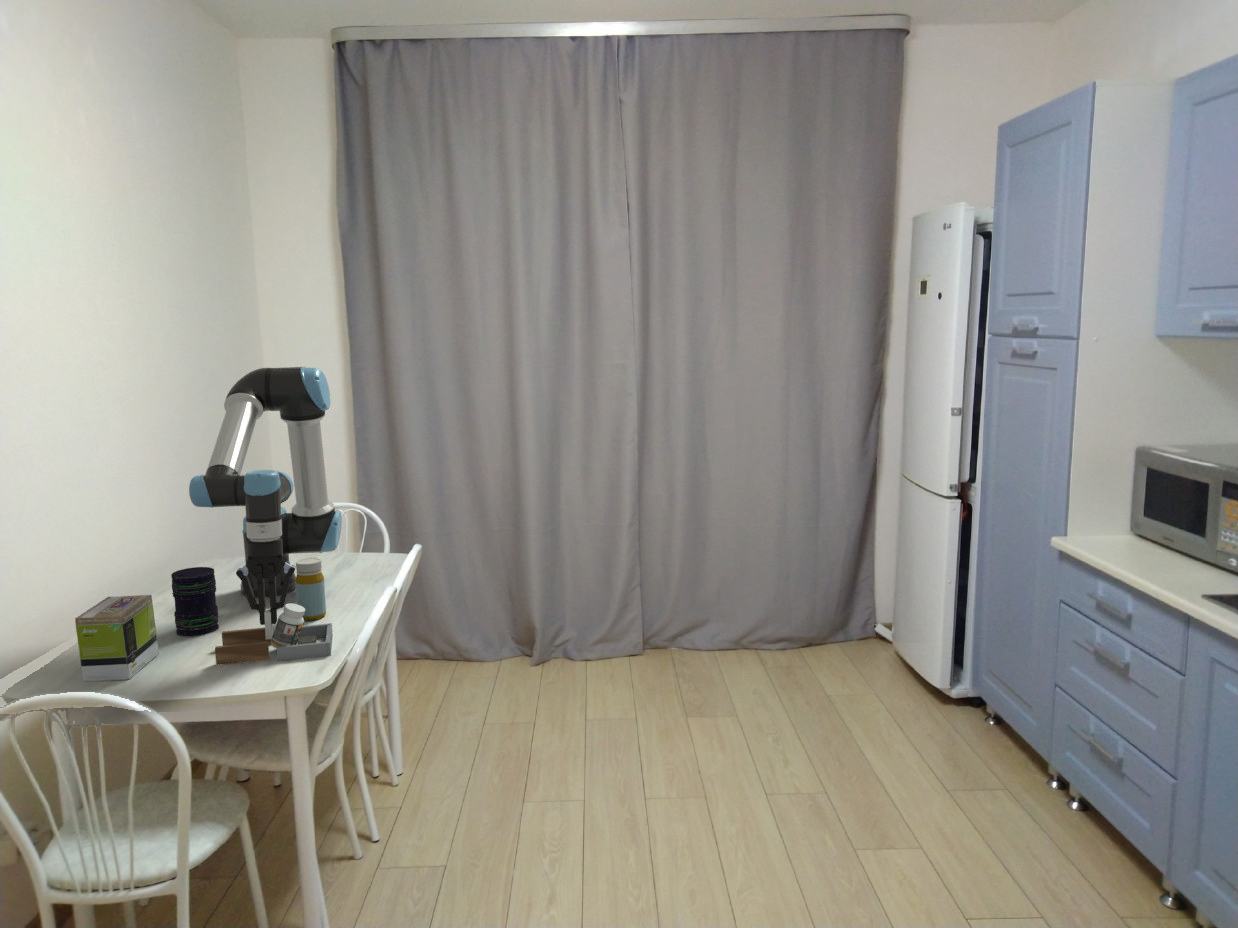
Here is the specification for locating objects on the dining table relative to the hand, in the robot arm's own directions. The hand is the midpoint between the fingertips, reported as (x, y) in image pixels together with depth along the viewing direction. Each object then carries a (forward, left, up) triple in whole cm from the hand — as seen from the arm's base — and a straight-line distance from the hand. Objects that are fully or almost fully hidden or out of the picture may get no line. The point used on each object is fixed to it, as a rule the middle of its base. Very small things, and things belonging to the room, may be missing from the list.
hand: (269, 637), depth 203 cm
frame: (-1, +8, -4) cm, 8 cm away
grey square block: (0, +8, -4) cm, 9 cm away
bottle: (-24, +8, -4) cm, 25 cm away
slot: (-1, -5, -4) cm, 6 cm away
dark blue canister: (-22, -19, -4) cm, 29 cm away
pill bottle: (0, +3, -3) cm, 4 cm away
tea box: (0, -31, -4) cm, 31 cm away
